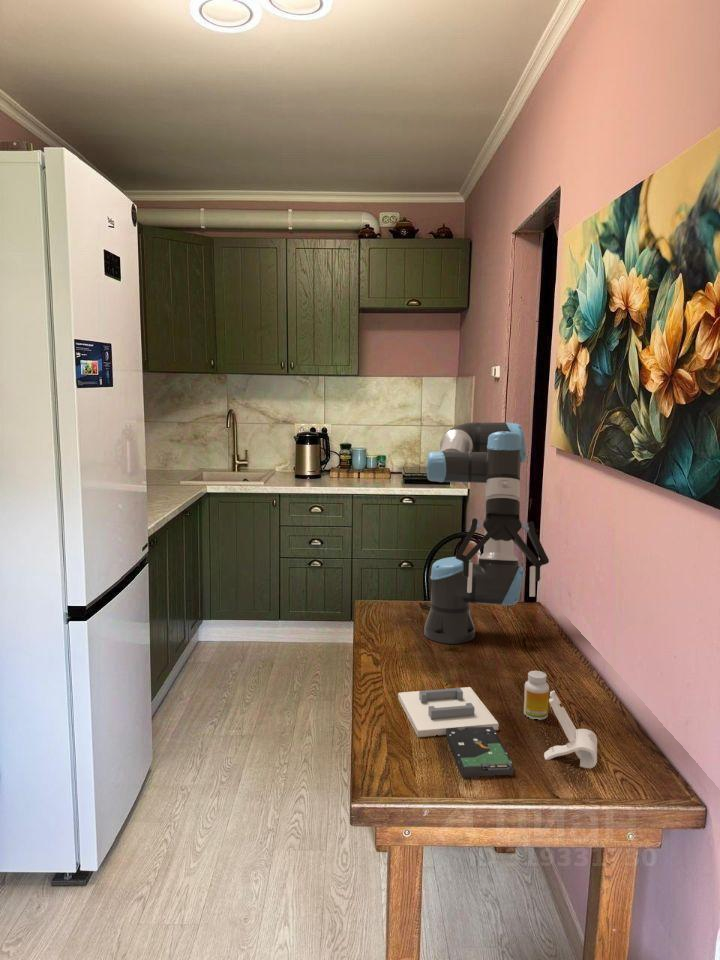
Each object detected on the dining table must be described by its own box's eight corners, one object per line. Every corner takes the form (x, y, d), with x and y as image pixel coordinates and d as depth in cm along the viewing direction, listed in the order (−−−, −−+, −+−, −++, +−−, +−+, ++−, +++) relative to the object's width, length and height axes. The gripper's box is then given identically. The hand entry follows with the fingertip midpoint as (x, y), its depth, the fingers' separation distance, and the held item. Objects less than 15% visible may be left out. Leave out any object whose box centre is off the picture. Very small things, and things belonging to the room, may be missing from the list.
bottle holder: (398, 698, 157) (398, 684, 157) (470, 692, 160) (470, 679, 160) (417, 737, 139) (418, 721, 139) (498, 729, 143) (498, 714, 142)
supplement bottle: (552, 719, 147) (554, 678, 146) (529, 721, 146) (531, 680, 145) (541, 708, 152) (543, 668, 151) (519, 710, 152) (521, 669, 150)
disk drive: (444, 740, 140) (462, 780, 125) (444, 727, 139) (462, 766, 125) (492, 738, 140) (515, 777, 126) (492, 725, 140) (515, 763, 126)
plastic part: (596, 770, 128) (599, 714, 126) (543, 760, 131) (546, 705, 130) (596, 750, 135) (600, 697, 133) (546, 741, 138) (549, 689, 137)
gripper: (448, 493, 146) (444, 590, 142) (562, 499, 144) (562, 597, 140) (446, 499, 154) (442, 591, 149) (555, 505, 151) (555, 598, 147)
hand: (500, 594), depth 145 cm, fingers open, 13 cm apart
